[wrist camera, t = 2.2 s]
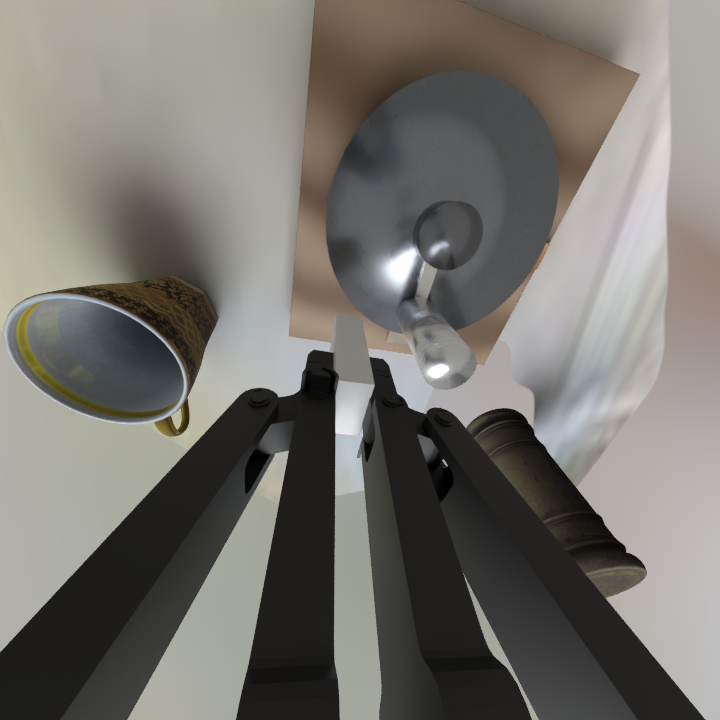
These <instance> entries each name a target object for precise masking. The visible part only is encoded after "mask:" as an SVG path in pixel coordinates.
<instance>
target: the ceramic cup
mask: <svg viewBox="0 0 720 720" xmlns="http://www.w3.org/2000/svg"><path fill="white" fill-rule="evenodd" d="M217 321H218V317H217V315H216V313H215V311H214V309H213V307H212V305H211V303H210V301H209V299H208V297H207V295H206V293H205V292H204V291H203V290H201V289H199V288H197V287H195V286H193V285H192V284H190V283H188V282H186V281H184V280H182V279H181V278H179V277H177V276H168V277H162V278H157V279H151V280H146V281H140V282H133V283H116V284H100V285H92V286H84V287H77V288H70V289H64V290H58V291H53V292H47V293H42V294H38V295H34V296H32V297H29V298H27V299H25V300H23V301H22V302H20V303H19V304H17V305H16V306H15V307H14V308H13V309H12V310H11V311H10V313H9V314H8V316H7V318H6V321H5V324H4V340H5V345H6V348H7V350H8V353H9V355H10V357H11V359H12V360H13V362H14V364H15V365H16V367H17V368H18V369H19V370H20V372H21V373H22V374H23V375H24V377H26V378H27V380H29V381H30V382H31V383H32V384H33V385H34V386H35V387H36V388H37V389H39V390H40V391H41V392H43V393H44V394H45V395H47V396H48V397H50V398H51V399H53V400H54V401H56V402H58V403H60V404H62V405H63V406H65V407H67V408H69V409H71V410H73V411H76V412H78V413H80V414H83V415H86V416H89V417H92V418H95V419H99V420H103V421H107V422H113V423H120V424H146V423H152V422H154V423H155V425H156V427H157V429H158V430H159V431H160V432H161V433H163V434H164V435H166V436H178V435H180V434H182V433H183V432H184V431H185V430H186V429H187V427H188V424H189V406H188V399H187V397H188V395H189V393H190V391H191V389H192V387H193V384H194V382H195V379H196V377H197V374H198V372H199V369H200V366H201V363H202V359H203V355H204V351H205V348H206V346H207V343H208V341H209V338H210V336H211V334H212V332H213V330H214V328H215V326H216V323H217ZM180 408H181V414H182V421H181V425H180V427H179V429H178V430H177V429H176V428H175V426H174V424H173V421H172V418H171V415H172V414H174V413H175V412H176V411H178V410H179V409H180Z"/></svg>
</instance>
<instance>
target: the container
mask: <svg viewBox="0 0 720 720" xmlns="http://www.w3.org/2000/svg"><path fill="white" fill-rule="evenodd" d="M466 429H467V431H468V432H469V433H470V434H471V435H472V437H473V438H474V439H475V440H476V441H477V443H478V444H479V445H480V446H481V448H482V449H483V450H484V451H485V452H486V454H487V455H488V456H489V457H490V458H491V460H492V461H493V462H494V463H495V465H496V466H497V467H498V468H499V469H500V471H501V472H502V473H503V474H504V476H505V477H506V478H507V479H508V480H509V482H510V483H511V484H512V485H513V486H514V488H515V489H516V490H517V491H518V493H519V494H520V495H521V496H522V497H523V499H524V500H525V501H526V502H527V504H528V505H529V506H530V507H531V508H532V510H533V511H534V512H535V513H536V514H537V516H538V517H539V518H540V519H541V521H542V522H543V523H544V524H545V525H546V527H547V528H548V529H549V530H550V531H551V533H552V534H553V535H554V536H555V538H556V539H557V540H558V541H559V542H560V544H561V545H562V546H563V547H564V549H565V550H566V551H567V552H568V553H569V555H570V556H571V557H572V558H573V559H574V561H575V562H576V563H577V564H578V566H579V567H580V568H581V569H582V570H583V572H584V573H585V574H586V575H587V577H588V578H589V579H590V580H591V581H592V583H593V584H594V585H595V586H596V587H597V589H598V590H599V591H600V592H601V594H602V595H603V596H604V597H605V598H607V597H610V596H613V595H615V594H618V593H620V592H623V591H625V590H628V589H630V588H632V587H634V586H635V585H637V584H639V583H640V582H641V581H642V580H643V579H644V578H645V577H646V575H647V571H646V569H645V566H644V565H643V563H642V562H641V561H640V560H639V559H638V558H637V557H636V556H634V555H632V554H629V553H626V548H625V546H624V545H623V544H622V543H620V542H619V541H618V540H617V539H616V538H615V537H614V536H613V535H612V534H611V532H610V531H609V530H608V528H607V527H606V526H605V524H604V522H603V519H602V517H601V516H600V515H598V514H596V512H595V511H594V510H593V509H592V507H591V506H590V505H589V503H588V502H587V501H586V500H585V498H584V497H583V496H582V495H581V493H580V492H579V491H578V489H577V488H576V487H575V486H574V485H573V483H572V482H571V481H570V480H569V478H568V477H567V476H566V475H565V473H564V472H563V471H562V469H561V468H560V467H559V466H558V464H557V463H556V462H555V461H554V459H553V458H552V457H551V456H550V454H549V453H548V452H547V450H546V448H545V446H544V445H543V444H542V443H541V442H540V441H539V440H538V439H537V438H536V437H535V434H534V430H533V428H532V427H531V426H530V425H529V424H528V422H527V419H526V418H525V417H524V416H523V415H522V414H521V413H519V412H517V411H515V410H513V409H507V408H502V409H495V410H492V411H489V412H486V413H484V414H482V415H480V416H479V417H477V418H476V419H474V420H473V421H472V422H471V423H470V424H469V425H468V427H467V428H466Z"/></svg>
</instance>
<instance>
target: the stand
mask: <svg viewBox="0 0 720 720" xmlns="http://www.w3.org/2000/svg"><path fill="white" fill-rule="evenodd" d="M456 70H462V71H478V72H482V73H486V74H490V75H494V76H496V77H498V78H500V79H502V80H504V81H506V82H509V83H511V84H512V85H513V86H515V87H516V88H517V89H519V90H520V91H521V92H523V93H524V94H525V95H526V96H527V97H528V98H529V99H530V101H531V102H532V103H533V104H534V105H535V106H536V107H537V109H538V110H539V112H540V114H541V115H542V117H543V118H544V120H545V122H546V124H547V126H548V129H549V131H550V133H551V136H552V138H553V142H554V146H555V150H556V154H557V160H558V169H559V193H558V201H557V208H556V213H555V217H554V221H553V225H552V228H551V231H550V234H549V237H548V239H547V242H546V244H545V246H544V249H543V251H542V253H541V255H540V257H539V259H538V260H537V262H536V264H535V265H534V267H533V269H532V271H531V272H530V273H529V275H528V276H527V277H526V279H525V280H524V282H523V283H522V284H521V285H520V286H519V288H518V289H517V290H516V291H515V292H514V293H513V294H512V295H511V296H510V297H509V298H508V299H507V300H506V301H505V302H504V303H503V304H502V305H501V306H499V307H498V308H497V309H495V310H494V311H493V312H492V313H490V314H489V315H487V316H486V317H484V318H482V319H481V320H479V321H477V322H475V323H473V324H471V325H469V326H467V327H465V328H462V329H459V330H457V331H456V333H457V334H458V335H459V336H460V337H461V338H462V340H463V341H464V342H465V343H466V344H467V345H468V347H469V348H470V349H471V350H472V351H473V352H474V354H475V356H476V360H477V364H481V365H484V364H485V362H486V360H487V358H488V356H489V354H490V353H491V351H492V349H493V347H494V345H495V343H496V341H497V340H498V338H499V336H500V334H501V332H502V330H503V328H504V327H505V325H506V323H507V321H508V319H509V317H510V315H511V313H512V312H513V310H514V308H515V306H516V304H517V302H518V300H519V299H520V297H521V295H522V293H523V291H524V289H525V287H526V286H527V284H528V282H529V280H530V278H531V276H532V274H533V273H534V271H535V269H537V268H538V266H539V264H540V263H541V261H542V259H543V257H544V255H545V253H546V251H547V250H548V248H549V246H550V244H549V243H550V241H551V239H552V237H553V235H554V234H555V232H556V230H557V228H558V226H559V224H560V222H561V221H562V219H563V217H564V215H565V213H566V211H567V209H568V207H569V206H570V204H571V202H572V200H573V198H574V196H575V194H576V193H577V191H578V189H579V187H580V185H581V183H582V181H583V180H584V178H585V176H586V174H587V172H588V170H589V168H590V167H591V165H592V163H593V161H594V159H595V157H596V155H597V154H598V152H599V150H600V148H601V146H602V144H603V142H604V141H605V139H606V137H607V135H608V133H609V131H610V129H611V128H612V126H613V124H614V122H615V120H616V118H617V116H618V114H619V113H620V111H621V109H622V107H623V105H624V103H625V101H626V100H627V98H628V96H629V94H630V92H631V90H632V88H633V87H634V85H635V83H636V81H637V79H638V77H639V75H640V74H638V73H636V72H633V71H631V70H628V69H626V68H623V67H621V66H618V65H616V64H613V63H611V62H608V61H606V60H604V59H601V58H599V57H596V56H594V55H591V54H589V53H586V52H584V51H581V50H579V49H576V48H574V47H571V46H569V45H566V44H564V43H562V42H559V41H557V40H554V39H552V38H549V37H547V36H544V35H542V34H539V33H537V32H534V31H532V30H529V29H527V28H525V27H522V26H520V25H517V24H515V23H512V22H510V21H507V20H505V19H502V18H500V17H497V16H495V15H492V14H490V13H487V12H485V11H483V10H480V9H478V8H475V7H473V6H470V5H468V4H465V3H463V2H460V1H458V0H315V9H314V22H313V35H312V48H311V61H310V73H309V86H308V99H307V112H306V124H305V137H304V150H303V163H302V175H301V188H300V201H299V214H298V227H297V239H296V252H295V265H294V278H293V290H292V303H291V316H290V329H289V336H291V337H298V338H305V339H311V340H318V341H325V342H331V341H332V335H333V329H334V323H335V318H336V313H338V314H344V315H349V316H355V317H361V318H362V323H363V328H364V333H365V338H366V343H367V348H372V349H379V350H386V351H393V352H399V353H406V354H413V353H412V351H411V349H410V347H409V345H408V343H407V341H406V338H405V336H404V334H400V333H395V332H393V331H390V330H387V329H385V328H383V327H381V326H379V325H377V324H375V323H373V322H372V321H371V320H369V319H368V318H366V317H365V316H364V315H363V314H362V313H361V312H359V311H358V310H357V309H356V308H355V307H354V305H353V304H352V303H351V302H350V301H349V299H348V298H347V297H346V295H345V294H344V292H343V290H342V289H341V287H340V285H339V283H338V281H337V279H336V276H335V274H334V272H333V268H332V265H331V262H330V259H329V253H328V248H327V241H326V213H327V204H328V198H329V193H330V188H331V185H332V182H333V178H334V175H335V172H336V169H337V167H338V164H339V162H340V160H341V158H342V156H343V153H344V151H345V149H346V148H347V146H348V144H349V143H350V141H351V139H352V138H353V136H354V134H355V133H356V132H357V130H358V129H359V128H360V126H361V125H362V124H363V123H364V121H365V120H366V119H367V117H368V116H369V115H370V114H371V113H372V112H373V111H374V110H375V109H376V108H377V107H378V106H380V105H381V104H382V103H383V102H384V101H385V100H386V99H388V98H389V97H390V96H392V95H393V94H395V93H396V92H397V91H399V90H400V89H402V88H403V87H405V86H407V85H409V84H411V83H413V82H415V81H417V80H419V79H422V78H425V77H428V76H431V75H434V74H437V73H442V72H449V71H456Z"/></svg>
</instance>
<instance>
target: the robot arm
mask: <svg viewBox="0 0 720 720" xmlns="http://www.w3.org/2000/svg"><path fill="white" fill-rule="evenodd" d="M362 427H363V438H362V441H361V444H360V448H359V451H358V455H357V458H360V455H361V454H362V465H363V476H364V488H365V499H366V510H367V522H368V533H369V544H370V554H371V555H370V556H371V567H372V578H373V589H374V601H375V612H376V624H377V634H378V646H379V658H380V669H381V680H382V681H381V683H382V694H381V703H380V711H379V714H380V715H379V720H532V719H531V716H530V713H529V711H528V708H527V705H526V703H525V701H524V698H523V696H522V694H521V692H520V689H519V687H518V685H517V683H516V681H515V680H514V678H513V677H512V675H511V674H510V672H509V670H508V669H507V668H506V667H505V666H504V665H503V664H502V663H501V662H500V661H498V660H497V659H496V658H495V657H494V656H493V655H492V653H491V651H490V650H489V648H488V646H487V643H486V641H485V639H484V636H483V633H482V630H481V627H480V624H479V621H478V618H477V615H476V612H475V608H474V606H473V602H472V599H471V596H470V593H469V590H468V588H467V584H466V581H465V578H464V575H465V577H466V579H467V581H468V583H469V584H470V587H471V589H472V591H473V593H474V595H475V596H476V598H477V600H478V602H479V604H480V606H481V608H482V610H483V612H484V614H485V616H486V618H487V620H488V621H489V624H490V626H491V628H492V629H493V631H494V633H495V635H496V637H497V639H498V641H499V643H500V645H501V647H502V649H503V651H504V653H505V655H506V656H507V659H508V660H509V662H510V664H511V666H512V668H513V670H514V672H515V674H516V676H517V678H518V680H519V682H520V684H521V685H522V688H523V690H524V692H525V694H526V695H527V697H528V699H529V701H530V703H531V705H532V707H533V709H534V711H535V713H536V715H537V717H538V719H539V720H705V719H704V718H703V716H702V715H701V714H700V713H699V712H698V710H697V709H696V708H695V707H694V706H693V704H692V703H691V702H690V701H689V699H688V698H687V697H686V696H685V695H684V693H683V692H682V691H681V690H680V688H679V687H678V686H677V685H676V684H675V682H674V681H673V680H672V679H671V677H670V676H669V675H668V674H667V673H666V671H665V670H664V669H663V668H662V667H661V665H660V664H659V663H658V662H657V661H656V659H655V658H654V657H653V656H652V654H651V653H650V652H649V651H648V649H647V648H646V647H645V646H644V645H643V643H642V642H641V641H640V640H639V639H638V637H637V636H636V635H635V634H634V633H633V631H632V630H631V629H630V628H629V626H628V625H627V624H626V623H625V622H624V620H623V619H622V618H621V617H620V616H619V614H618V613H617V612H616V611H615V609H614V608H613V607H612V606H611V604H610V603H609V602H608V601H607V600H606V598H605V597H604V596H603V595H602V594H601V592H600V591H599V590H598V589H597V587H596V586H595V585H594V584H593V583H592V581H591V580H590V579H589V578H588V577H587V575H586V574H585V573H584V572H583V570H582V569H581V568H580V567H579V566H578V564H577V563H576V562H575V561H574V559H573V558H572V557H571V556H570V555H569V553H568V552H567V551H566V550H565V549H564V547H563V546H562V545H561V544H560V542H559V541H558V540H557V539H556V538H555V536H554V535H553V534H552V533H551V531H550V530H549V529H548V528H547V527H546V525H545V524H544V523H543V522H542V521H541V519H540V518H539V517H538V516H537V514H536V513H535V512H534V511H533V510H532V508H531V507H530V506H529V505H528V504H527V502H526V501H525V500H524V499H523V497H522V496H521V495H520V494H519V493H518V491H517V490H516V489H515V488H514V486H513V485H512V484H511V483H510V482H509V480H508V479H507V478H506V477H505V476H504V474H503V473H502V472H501V471H500V469H499V468H498V467H497V466H496V465H495V463H494V462H493V461H492V460H491V458H490V457H489V456H488V455H487V454H486V452H485V451H484V450H483V449H482V448H481V446H480V445H479V444H478V443H477V441H476V440H475V439H474V438H473V437H472V435H471V434H470V433H469V432H468V431H467V429H466V428H465V427H464V426H463V424H462V423H461V422H460V421H459V420H458V418H457V417H456V416H454V415H453V414H452V413H451V412H449V411H447V410H444V409H442V408H431V409H429V410H428V411H427V413H426V414H423V413H420V412H417V411H415V410H412V409H410V408H408V405H407V403H406V401H405V399H404V398H402V397H401V396H400V395H398V394H397V392H396V388H395V385H394V382H393V378H392V375H391V373H390V368H389V365H388V364H387V363H386V362H385V361H384V360H383V359H378V358H371V357H369V353H368V348H367V343H366V338H365V333H364V328H363V323H362V318H361V317H355V316H349V315H344V314H338V313H336V318H335V323H334V329H333V335H332V341H331V347H330V352H325V351H318V350H313V351H312V352H310V353H309V354H308V358H307V363H306V369H305V370H304V371H303V373H302V382H301V389H300V390H299V392H297V393H295V394H293V395H291V396H286V397H278V395H277V394H276V393H275V392H273V391H271V390H269V389H264V388H255V389H250V390H248V391H245V392H244V393H242V394H241V395H240V396H239V397H238V398H237V399H236V400H235V401H234V402H233V403H232V405H231V406H230V407H229V408H228V409H227V410H226V411H225V412H224V413H223V414H222V415H221V416H220V417H219V418H218V420H217V421H216V422H215V423H214V424H213V425H212V426H211V427H210V428H209V429H208V430H207V431H206V432H205V434H204V435H203V436H202V437H201V438H200V439H199V440H198V441H197V442H196V443H195V444H194V445H193V446H192V447H191V449H190V450H189V451H188V452H187V453H186V454H185V455H184V456H183V457H182V458H181V459H180V460H179V462H177V464H176V465H175V466H174V467H173V468H172V469H171V470H170V471H169V472H168V473H167V474H166V476H164V477H163V479H162V480H161V481H160V482H159V483H158V484H157V485H156V486H155V487H154V488H153V489H152V490H151V492H149V494H148V495H147V496H146V497H145V498H144V499H143V500H142V501H141V502H140V503H139V504H138V505H137V507H135V509H134V510H133V511H132V512H131V513H130V514H129V515H128V516H127V517H126V518H125V519H124V520H123V521H122V522H121V524H120V525H119V526H118V527H117V528H116V529H115V530H114V531H113V532H112V533H111V534H110V536H108V537H107V539H106V540H105V541H104V542H103V543H102V544H101V545H100V546H99V547H98V548H97V549H96V550H95V551H94V553H93V554H92V555H91V556H90V557H89V558H88V559H87V560H86V561H85V562H84V563H83V565H81V566H80V567H79V569H78V570H77V571H76V572H75V573H74V574H73V575H72V576H71V577H70V578H69V579H68V580H67V581H66V583H65V584H64V585H63V586H62V587H61V588H60V589H59V590H58V591H57V592H56V593H55V594H54V595H53V596H52V598H51V599H50V600H49V601H48V602H47V603H46V604H45V605H44V606H43V607H42V608H41V609H40V610H39V612H38V613H37V614H36V615H35V616H34V617H33V618H32V619H31V620H30V621H29V622H28V623H27V624H26V625H25V626H24V628H23V629H22V630H21V631H20V632H19V633H18V634H17V635H16V636H15V637H14V638H13V639H12V640H11V641H10V642H9V644H8V645H7V646H6V647H5V648H4V649H3V650H2V651H1V652H0V720H127V719H128V717H129V715H130V714H131V712H132V710H133V708H134V706H135V705H136V703H137V701H138V699H139V697H140V696H141V694H142V692H143V690H144V689H145V687H146V685H147V683H148V681H149V679H150V678H151V676H152V674H153V672H154V671H155V669H156V667H157V665H158V663H159V662H160V660H161V658H162V656H163V654H164V653H165V651H166V649H167V647H168V646H169V644H170V642H171V640H172V638H173V637H174V635H175V633H176V631H177V629H178V628H179V626H180V624H181V622H182V620H183V619H184V617H185V615H186V613H187V611H188V609H189V608H190V606H191V604H192V602H193V601H194V599H195V597H196V595H197V594H198V592H199V590H200V588H201V586H202V585H203V583H204V581H205V579H206V577H207V576H208V574H209V572H210V570H211V568H212V567H213V565H214V563H215V561H216V559H217V558H218V556H219V554H220V552H221V551H222V548H223V547H224V545H225V543H226V541H227V540H228V538H229V536H230V534H231V533H232V531H233V529H234V527H235V525H236V523H237V522H238V520H239V518H240V516H241V515H242V513H243V511H244V509H245V507H246V506H247V504H248V502H249V500H250V499H251V496H252V495H253V493H254V491H255V490H256V488H257V486H258V484H259V482H260V481H261V479H262V477H263V475H264V473H265V472H266V470H267V468H268V466H269V464H270V463H271V461H272V459H273V457H274V455H275V453H279V452H284V451H289V454H288V459H287V465H286V470H285V475H284V481H283V486H282V491H281V497H280V502H279V507H278V512H277V518H276V524H275V529H274V534H273V539H272V544H271V550H270V555H269V560H268V565H267V571H266V576H265V581H264V587H263V592H262V598H261V603H260V608H259V613H258V618H257V624H256V629H255V635H254V640H253V645H252V651H251V656H250V660H249V665H248V669H247V673H246V677H245V681H244V685H243V689H242V694H241V699H240V703H239V708H238V713H237V718H236V720H340V717H339V690H338V678H337V673H336V668H335V662H334V548H335V545H334V542H335V537H334V536H335V433H338V434H349V435H359V436H360V433H361V430H362ZM443 459H444V460H445V461H446V463H447V465H448V466H446V465H445V464H444V463H443V461H442V460H443ZM462 571H463V572H462ZM463 573H464V575H463Z"/></svg>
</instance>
